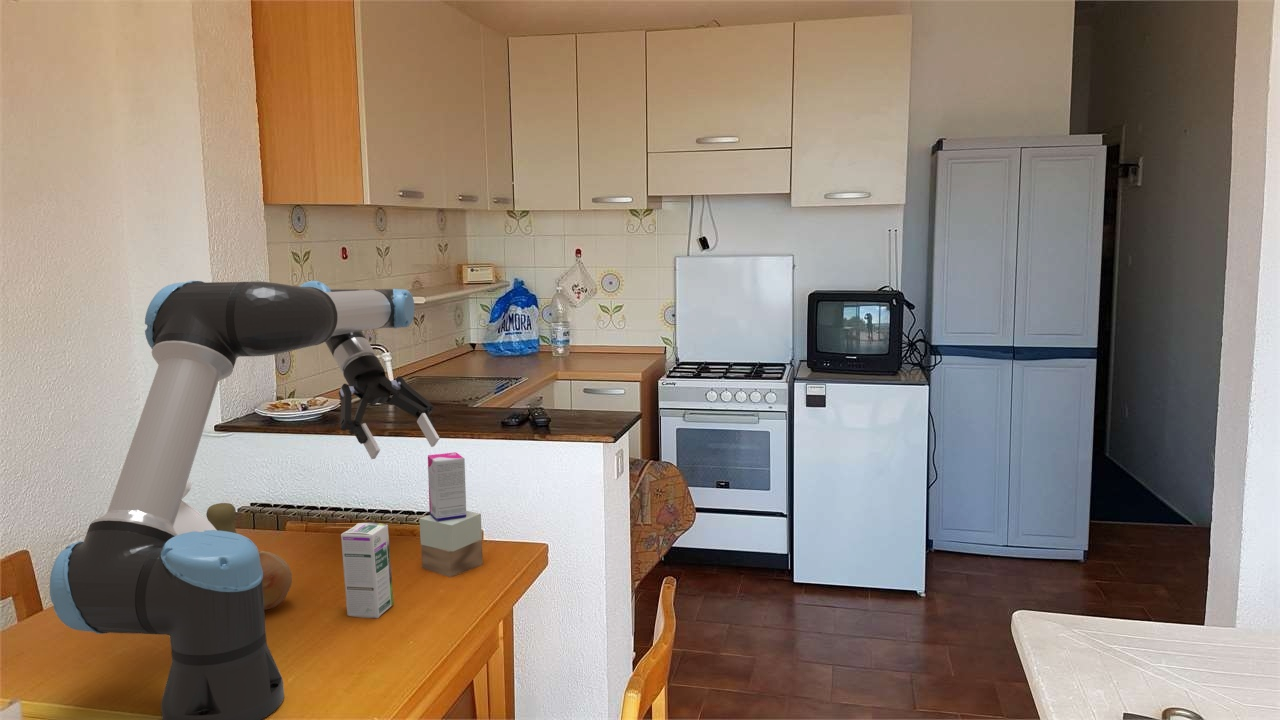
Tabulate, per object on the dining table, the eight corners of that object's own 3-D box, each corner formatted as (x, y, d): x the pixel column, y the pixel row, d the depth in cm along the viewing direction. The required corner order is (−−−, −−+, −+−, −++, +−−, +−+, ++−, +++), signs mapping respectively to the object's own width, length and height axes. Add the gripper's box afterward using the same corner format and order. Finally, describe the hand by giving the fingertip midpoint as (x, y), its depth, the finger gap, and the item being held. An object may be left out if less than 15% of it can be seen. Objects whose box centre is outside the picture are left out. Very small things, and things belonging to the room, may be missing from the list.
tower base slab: (450, 578, 176) (449, 552, 176) (422, 568, 181) (420, 543, 181) (482, 565, 182) (481, 540, 182) (454, 556, 187) (453, 532, 187)
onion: (306, 603, 165) (303, 547, 163) (256, 624, 156) (252, 565, 155) (270, 593, 170) (266, 538, 168) (219, 612, 162) (215, 555, 160)
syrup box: (378, 619, 158) (373, 534, 156) (345, 616, 159) (340, 532, 157) (394, 605, 164) (389, 523, 162) (362, 603, 165) (357, 521, 163)
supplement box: (467, 517, 179) (465, 457, 178) (436, 522, 177) (433, 461, 175) (459, 509, 185) (456, 450, 183) (428, 513, 182) (425, 454, 180)
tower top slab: (452, 551, 176) (451, 525, 175) (420, 544, 180) (419, 518, 179) (481, 539, 182) (480, 513, 182) (450, 532, 187) (449, 507, 186)
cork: (207, 556, 189) (203, 502, 187) (240, 552, 191) (236, 498, 190) (208, 566, 183) (203, 510, 182) (242, 561, 186) (238, 506, 184)
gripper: (405, 370, 206) (450, 448, 198) (296, 384, 187) (342, 472, 179) (418, 347, 201) (466, 426, 193) (309, 359, 183) (356, 448, 175)
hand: (406, 448), depth 186 cm, fingers open, 13 cm apart
